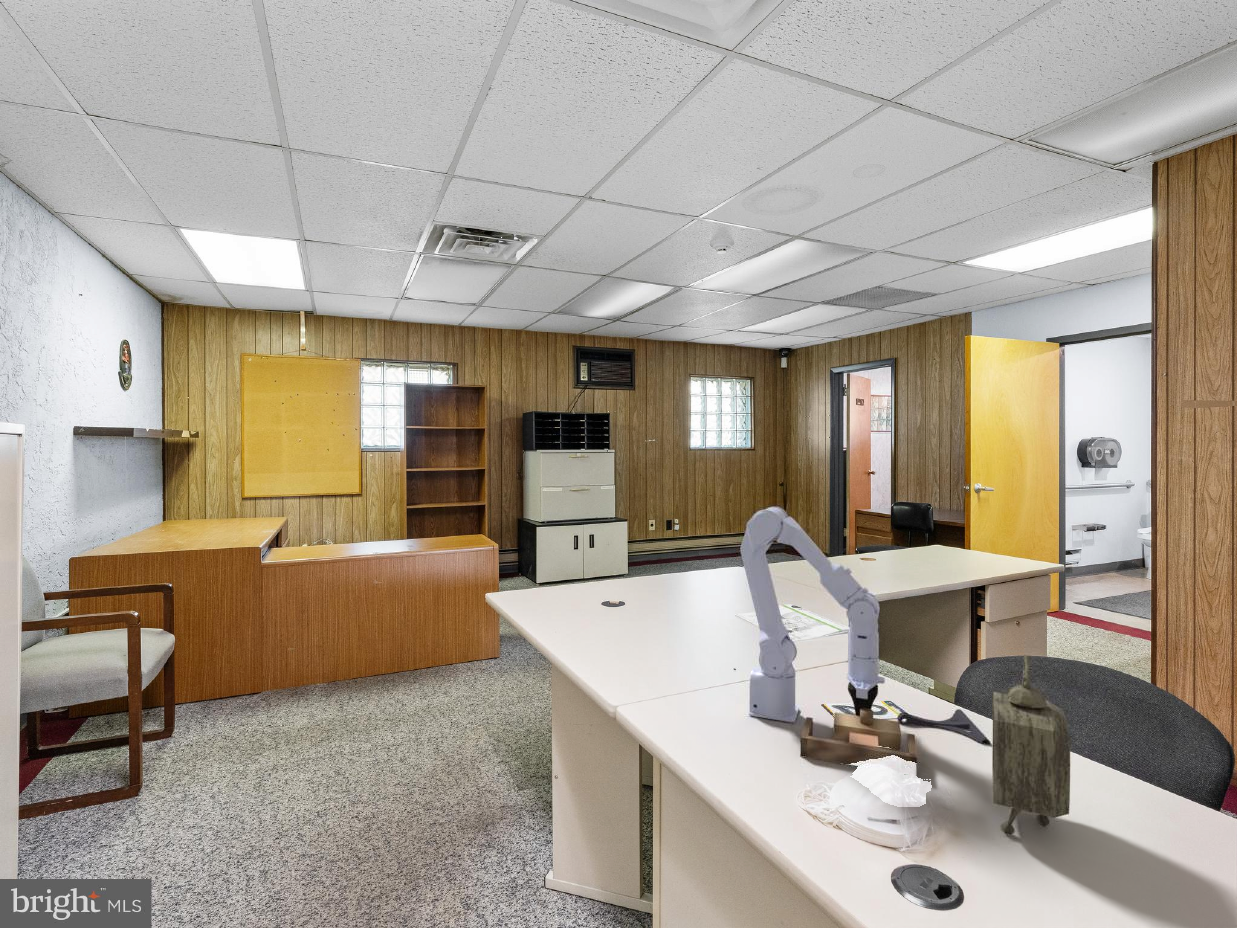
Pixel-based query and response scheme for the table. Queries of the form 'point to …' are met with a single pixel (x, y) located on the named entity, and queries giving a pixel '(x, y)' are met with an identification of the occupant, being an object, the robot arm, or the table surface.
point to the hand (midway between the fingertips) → (862, 721)
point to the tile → (863, 739)
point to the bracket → (948, 725)
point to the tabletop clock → (1030, 754)
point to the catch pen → (847, 748)
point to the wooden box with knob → (868, 728)
